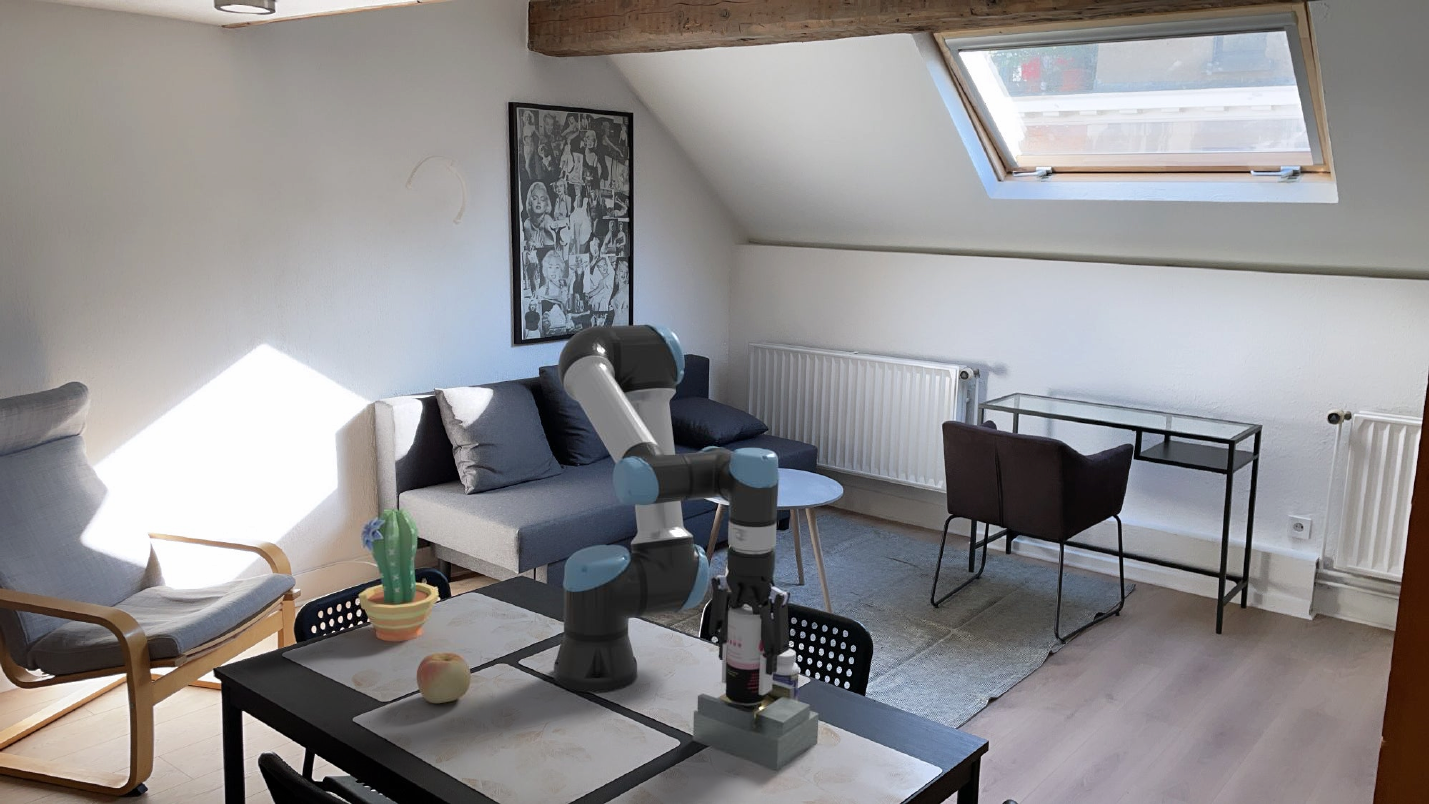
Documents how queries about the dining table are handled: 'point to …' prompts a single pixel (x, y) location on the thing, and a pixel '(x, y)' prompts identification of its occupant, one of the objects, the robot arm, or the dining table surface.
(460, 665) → the apple
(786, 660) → the pill bottle
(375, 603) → the potted cactus
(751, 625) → the beverage can
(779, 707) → the brass dish housing
